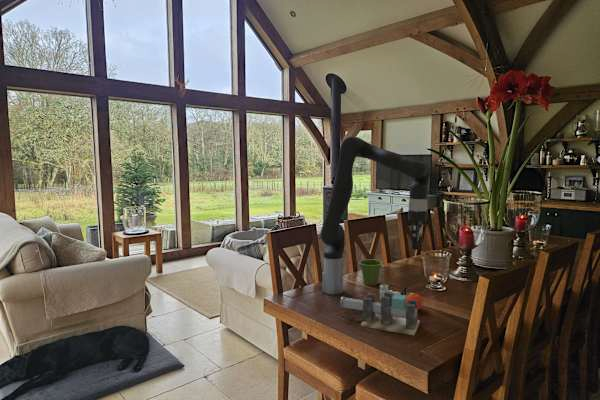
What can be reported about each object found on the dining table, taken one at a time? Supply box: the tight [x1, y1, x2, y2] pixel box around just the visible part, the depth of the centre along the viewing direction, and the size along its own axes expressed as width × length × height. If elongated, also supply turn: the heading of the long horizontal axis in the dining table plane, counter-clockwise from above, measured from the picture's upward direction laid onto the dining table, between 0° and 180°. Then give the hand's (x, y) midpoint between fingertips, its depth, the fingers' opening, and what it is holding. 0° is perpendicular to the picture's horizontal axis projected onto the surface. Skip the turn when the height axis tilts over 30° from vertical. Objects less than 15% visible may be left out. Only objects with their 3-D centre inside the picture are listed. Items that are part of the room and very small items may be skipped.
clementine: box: [406, 292, 424, 310], centre depth 166 cm, size 8×7×7 cm
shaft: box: [339, 295, 418, 318], centre depth 153 cm, size 30×4×4 cm, turn 64°
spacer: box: [392, 294, 408, 310], centre depth 149 cm, size 4×5×4 cm
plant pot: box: [358, 258, 383, 286], centre depth 200 cm, size 12×12×11 cm
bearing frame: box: [360, 292, 421, 336], centre depth 151 cm, size 20×12×12 cm, turn 64°
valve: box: [378, 283, 408, 301], centre depth 177 cm, size 7×7×12 cm
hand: (416, 247), depth 165 cm, fingers open, 8 cm apart
